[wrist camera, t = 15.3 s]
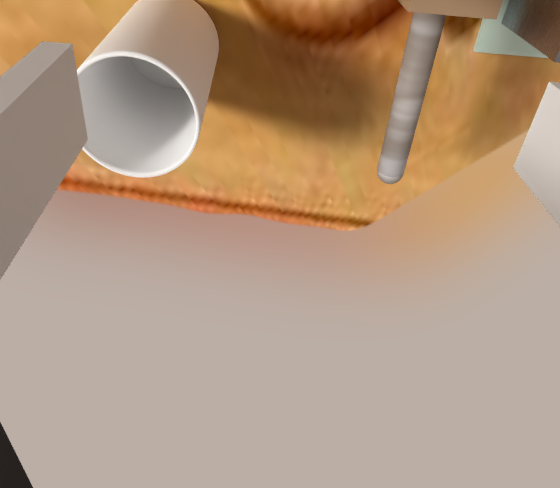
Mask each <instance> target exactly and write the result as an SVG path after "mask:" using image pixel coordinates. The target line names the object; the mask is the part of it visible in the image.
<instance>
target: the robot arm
mask: <svg viewBox="0 0 560 488" xmlns="http://www.w3.org/2000/svg"><path fill="white" fill-rule="evenodd" d="M87 140H88V137H87V131H86V125H85V119H84V112H83V106H82V100H81V94H80V88H79V82H78V76H77V69H76V63H75V57H74V51H73V45H72V44H68V43H56V42H43V41H42V42H41V43H40V44H39V45H38V46H36V47H35V48H34V49H33V50H32V51H30V52H29V53H28V54H27V55H26V56H25V57H23V58H22V59H21V60H20V61H19V62H17V63H16V64H15V65H14V66H13V67H11V68H10V69H9V70H8V71H7V72H5V73H4V74H3V75H2V76H1V77H0V279H1V278H2V276H3V275H4V273H5V271H6V270H7V268H8V266H9V265H10V263H11V262H12V260H13V258H14V257H15V255H16V254H17V252H18V251H19V249H20V247H21V246H22V244H23V243H24V241H25V239H26V238H27V236H28V234H29V233H30V231H31V229H32V228H33V226H34V225H35V223H36V222H37V220H38V218H39V217H40V215H41V214H42V212H43V210H44V209H45V207H46V206H47V204H48V202H49V201H50V199H51V198H52V196H53V194H54V193H55V191H56V190H57V188H58V186H59V185H60V183H61V182H62V180H63V178H64V177H65V175H66V174H67V172H68V170H69V169H70V167H71V166H72V164H73V162H74V161H75V159H76V158H77V156H78V154H79V153H80V151H81V150H82V148H83V146H84V145H85V143H86V142H87ZM513 168H514V169H515V171H516V172H517V173H518V174H519V176H520V177H521V178H522V180H523V181H524V182H525V183H526V185H527V186H528V187H529V188H530V190H531V191H532V192H533V194H534V195H535V196H536V197H537V199H538V200H539V201H540V202H541V204H542V205H543V206H544V207H545V209H546V210H547V211H548V212H549V214H550V215H551V216H552V218H553V219H554V220H555V221H556V223H557V224H558V225H559V226H560V82H549V83H548V86H547V88H546V91H545V93H544V95H543V98H542V100H541V103H540V105H539V107H538V110H537V112H536V114H535V117H534V119H533V122H532V124H531V126H530V129H529V131H528V134H527V136H526V138H525V141H524V143H523V145H522V148H521V150H520V153H519V155H518V157H517V160H516V162H515V165H514V167H513ZM0 488H33V487H32V485H31V483H30V481H29V479H28V477H27V475H26V473H25V471H24V469H23V467H22V465H21V463H20V461H19V459H18V457H17V455H16V453H15V451H14V449H13V447H12V445H11V443H10V441H9V439H8V437H7V435H6V433H5V431H4V429H3V427H2V425H1V423H0Z"/></svg>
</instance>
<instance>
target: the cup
mask: <svg viewBox="0 0 560 488" xmlns="http://www.w3.org/2000/svg"><path fill="white" fill-rule="evenodd" d="M218 53H219V40H218V34H217V31H216V28H215V25H214V23H213V21H212V19H211V18H210V16H209V15H208V13H207V12H206V11H205V10H204V9H203V8H202V7H201V6H200V5H199V4H198V3H197V2H195V1H194V0H139V1H137V2H136V3H135V4H134V5H133V6H132V8H131V9H130V10H129V11H128V12H127V13H126V14H125V16H124V17H123V18H122V19H121V20H120V21H119V22H118V24H117V25H116V26H115V27H114V28H113V29H112V30H111V32H110V33H109V34H108V35H107V36H106V37H105V38H104V39H103V41H102V42H101V43H100V44H99V45H98V46H97V47H96V49H95V50H94V51H93V52H92V53H91V54H90V55H89V57H88V58H87V59H86V60H85V61H84V62H83V64H82V65H81V66H80V67H79V68H78V69H77V76H78V82H79V88H80V94H81V100H82V106H83V112H84V119H85V125H86V131H87V137H88V140H87V142H86V143H85V145H84V146H83V148H82V149H83V150H84V151H85V152H86V153H87V154H88V155H89V156H90V157H91V158H92V159H93V160H95V161H96V162H97V163H99V164H101V165H102V166H104V167H106V168H108V169H109V170H112V171H114V172H117V173H120V174H123V175H127V176H132V177H154V176H159V175H163V174H166V173H168V172H170V171H172V170H174V169H176V168H177V167H179V166H180V165H181V164H183V163H184V162H185V161H186V160H187V158H188V157H189V156H190V154H191V153H192V151H193V150H194V148H195V146H196V143H197V141H198V138H199V134H200V130H201V126H202V122H203V117H204V113H205V109H206V105H207V101H208V96H209V92H210V88H211V84H212V80H213V75H214V71H215V67H216V63H217V59H218Z"/></svg>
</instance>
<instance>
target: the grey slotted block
mask: <svg viewBox="0 0 560 488" xmlns="http://www.w3.org/2000/svg"><path fill="white" fill-rule="evenodd" d="M501 24H503V25H504V26H505V27H507V28H508V29H510V30H511V31H512V32H514V33H515V34H517V35H518V36H519V37H521V38H522V39H523V40H525V41H526V42H528V43H529V44H530V45H532V46H533V47H535V48H536V49H537V50H539V51H540V52H541V53H543V54H544V55H546V56H547V57H548V58H550V59H551V60H553V61H554V62H560V0H509V1H508V4H507V7H506V10H505V13H504V16H503V19H502V22H501Z"/></svg>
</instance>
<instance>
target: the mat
mask: <svg viewBox="0 0 560 488" xmlns="http://www.w3.org/2000/svg"><path fill="white" fill-rule="evenodd" d="M508 1H509V0H503V1H502V4H501V7H500V10H499V14H498V17H497V20H496V19H485V18H483V19H482V22H481V26H480V29H479V32H478V35H477V38H476V42H475V45H474V48H473V51H474V52H480V53H492V54H504V55H516V56H528V57H540V58H548V57H547V56H546V55H544V54H543V53H541V52H540V51H539V50H537V49H536V48H535V47H533V46H532V45H530V44H529V43H528V42H526V41H525V40H523V39H522V38H521V37H519V36H518V35H517V34H515V33H514V32H512V31H511V30H510V29H508V28H507V27H505V26H504V25H503V24H501V22H502V19H503V16H504V13H505V10H506V7H507V4H508Z"/></svg>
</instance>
